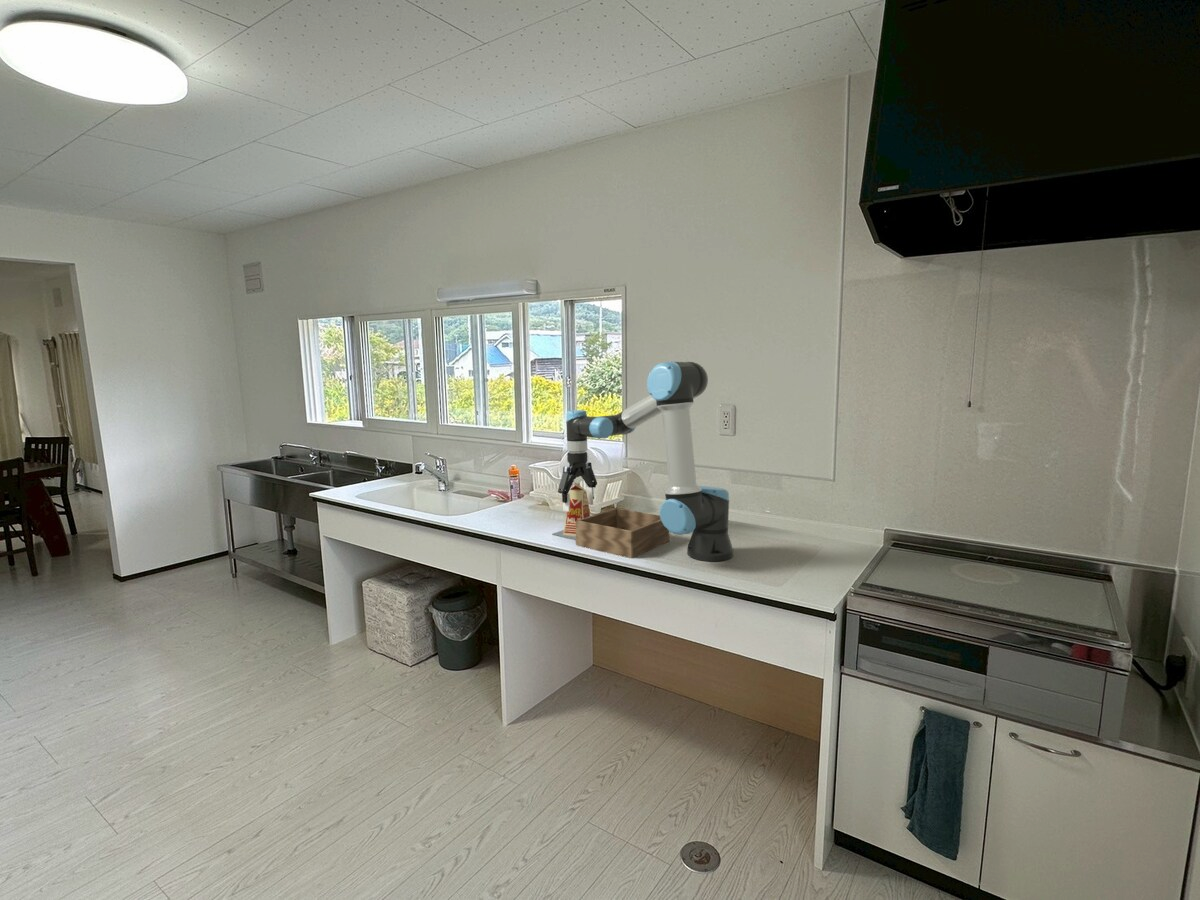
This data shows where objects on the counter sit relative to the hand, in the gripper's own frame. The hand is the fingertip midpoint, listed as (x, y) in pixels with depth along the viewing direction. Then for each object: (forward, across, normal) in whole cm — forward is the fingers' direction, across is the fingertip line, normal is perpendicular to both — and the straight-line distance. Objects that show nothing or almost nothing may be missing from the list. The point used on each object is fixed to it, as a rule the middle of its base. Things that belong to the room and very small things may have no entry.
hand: (578, 507), depth 231 cm
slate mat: (+10, 0, 0) cm, 10 cm away
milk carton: (+10, 0, 0) cm, 10 cm away
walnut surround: (+10, 0, +20) cm, 23 cm away
